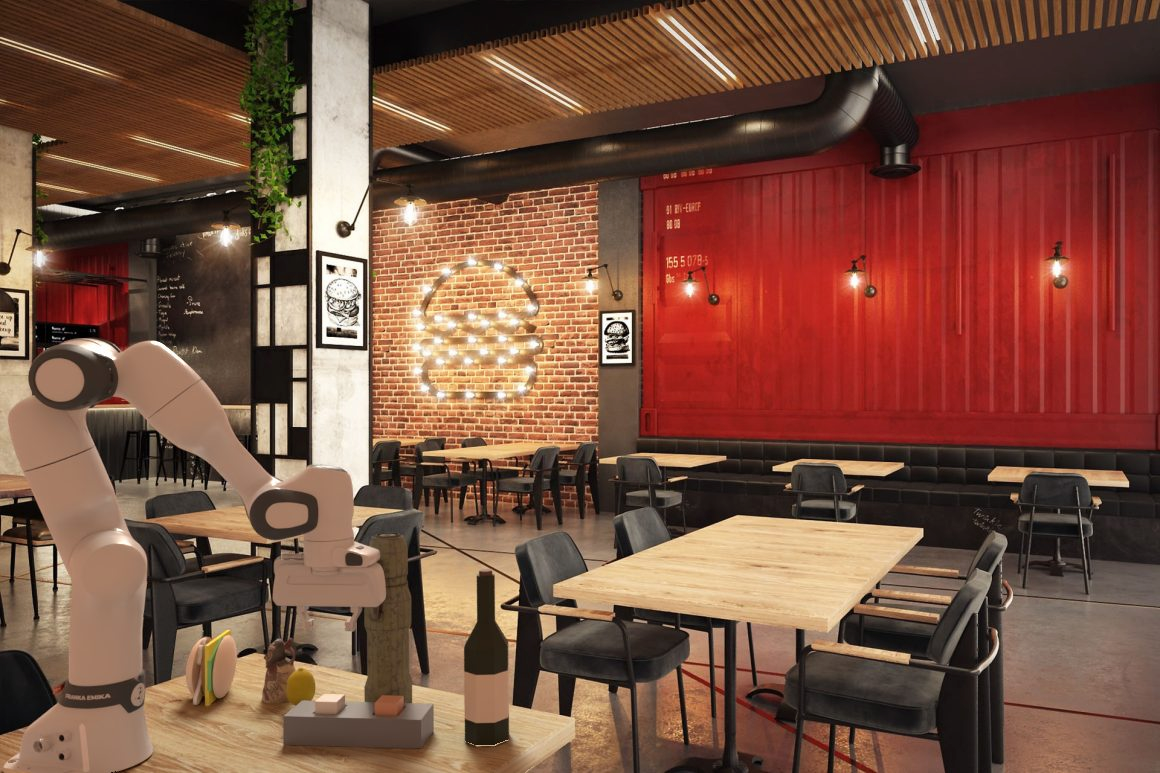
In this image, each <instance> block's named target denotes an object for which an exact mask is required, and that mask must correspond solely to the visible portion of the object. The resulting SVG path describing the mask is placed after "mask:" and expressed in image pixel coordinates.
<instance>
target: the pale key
mask: <svg viewBox="0 0 1160 773" xmlns="http://www.w3.org/2000/svg"><path fill="white" fill-rule="evenodd" d="M314 701H315V714H339V713H340V712H341V711H342V710H343V709H344V708H345V702H346V694H341V693H340V694H339V693H323V694H321V696H320V697H319V698H317V699H316V700H314Z"/></svg>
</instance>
